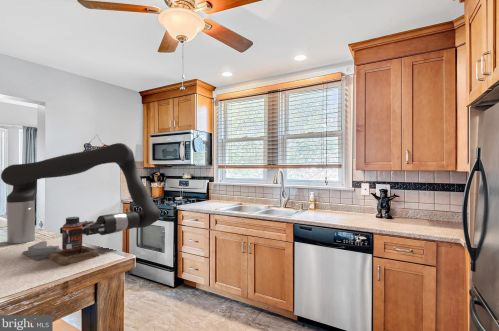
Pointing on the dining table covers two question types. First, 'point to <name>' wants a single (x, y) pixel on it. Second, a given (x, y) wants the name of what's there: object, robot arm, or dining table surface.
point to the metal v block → (40, 250)
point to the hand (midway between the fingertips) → (64, 232)
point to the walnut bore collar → (84, 255)
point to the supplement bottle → (74, 241)
